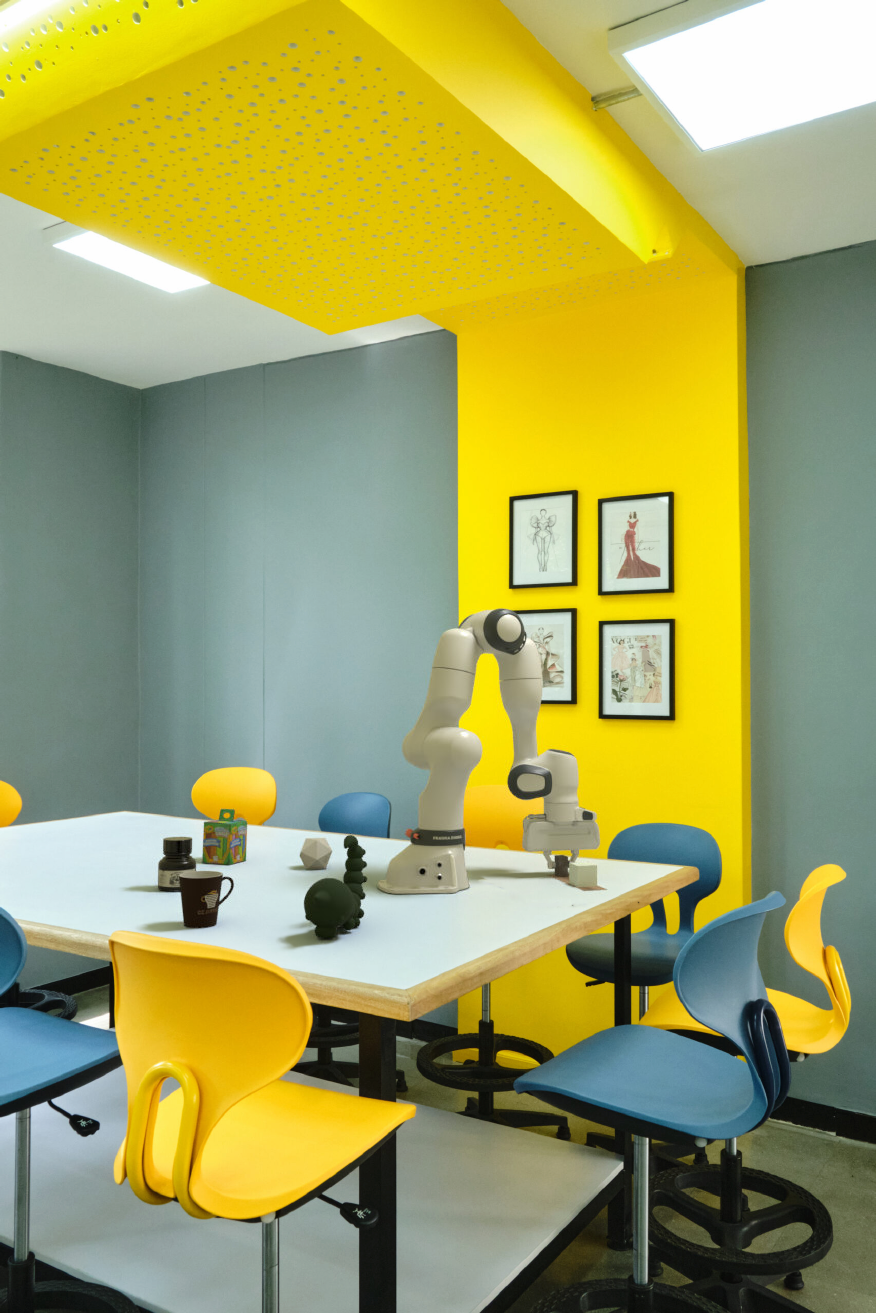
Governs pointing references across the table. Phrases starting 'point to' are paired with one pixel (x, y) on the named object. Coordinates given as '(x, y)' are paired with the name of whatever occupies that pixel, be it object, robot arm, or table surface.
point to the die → (315, 853)
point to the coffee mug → (201, 897)
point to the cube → (583, 874)
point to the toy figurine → (338, 896)
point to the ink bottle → (175, 862)
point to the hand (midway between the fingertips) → (561, 868)
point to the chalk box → (224, 840)
